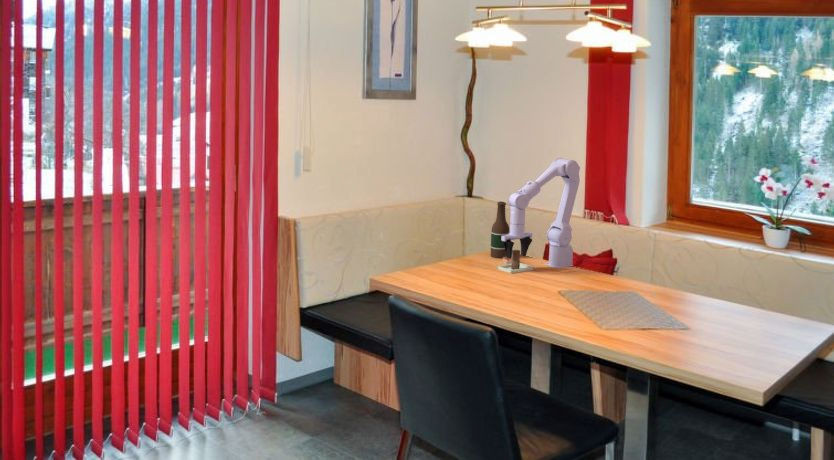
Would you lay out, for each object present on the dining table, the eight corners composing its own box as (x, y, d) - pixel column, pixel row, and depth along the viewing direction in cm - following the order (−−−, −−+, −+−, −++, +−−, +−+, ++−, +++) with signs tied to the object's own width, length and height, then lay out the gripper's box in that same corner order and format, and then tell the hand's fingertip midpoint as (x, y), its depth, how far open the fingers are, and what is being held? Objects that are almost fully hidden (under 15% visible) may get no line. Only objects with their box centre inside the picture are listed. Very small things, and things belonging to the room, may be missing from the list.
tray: (519, 266, 361) (519, 262, 361) (534, 271, 354) (534, 267, 354) (496, 269, 355) (496, 266, 354) (511, 274, 347) (511, 270, 347)
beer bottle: (506, 255, 380) (509, 200, 376) (509, 259, 373) (512, 203, 368) (489, 255, 380) (491, 200, 375) (491, 259, 372) (493, 203, 368)
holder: (511, 261, 369) (511, 256, 368) (521, 265, 364) (521, 259, 363) (499, 263, 365) (499, 257, 365) (509, 266, 360) (509, 260, 360)
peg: (516, 267, 357) (516, 249, 355) (520, 269, 354) (521, 251, 352) (509, 268, 355) (510, 250, 353) (514, 270, 352) (515, 251, 351)
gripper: (524, 220, 358) (523, 252, 361) (496, 223, 350) (495, 257, 353) (536, 222, 352) (535, 256, 355) (508, 226, 344) (507, 260, 347)
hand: (516, 256), depth 353 cm, fingers open, 7 cm apart
